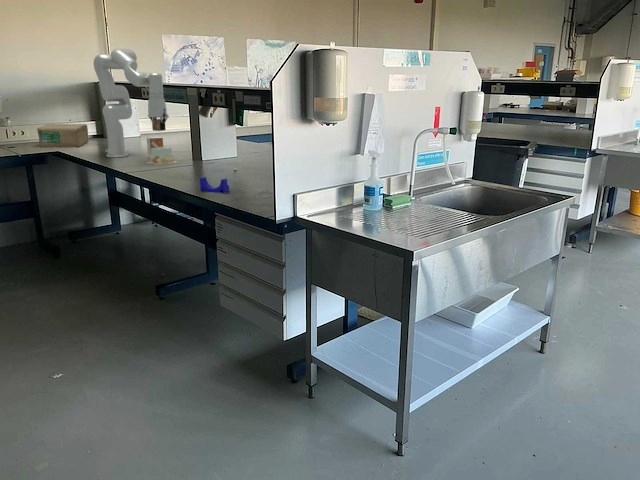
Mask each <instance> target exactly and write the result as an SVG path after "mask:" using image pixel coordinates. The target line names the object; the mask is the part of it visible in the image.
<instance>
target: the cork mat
mask: <svg viewBox="0 0 640 480" xmlns="http://www.w3.org/2000/svg"><path fill="white" fill-rule="evenodd" d="M173 161H174V162H170V163H165V164H159V163H151V161H146V162H145V164H152V165H160V166H164V165H169V164H175V163H179V162H180V161H177V160H173Z"/></svg>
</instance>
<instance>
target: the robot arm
mask: <svg viewBox="0 0 640 480" xmlns="http://www.w3.org/2000/svg"><path fill="white" fill-rule="evenodd" d="M138 66H139V65H138V63H137V54H136V53H135V52H134V51H133V50H132V49H129V48H128V49H127V48H114V49H113V50H112V51H111V52H110V53H99V54H97V55H95V57H94V58H93V69H94V72H95V75H96V76H97V78H98V84H99V88H100V93H101V97H102V99H103V100H104V101H105V102H112V103H108V104H105V105H104V106H103V107H102V114H103V117H104V122H105V129H106V130H105V131H106V139H107V147H108V148H106V149H105V153H107V154H106V157H108V158H125V157H128V156H129V153H127V152H126V148H125V147H126V145H125V137H124V134H125V133H124V127H123V125H122V123H121V122H120V120H128V119H130V118H132V115H133V109H132V104H131V99H130V94H129V91H128V89H127V88H126V87H125V86H124V85H122V84H121V85H118V84H116V83H115V81H114V77H113V75H112V73H111V72H110V71H109V70H123V72H124V77H125V79H126V80H127V82H129V83H130V84H131V85H133V86H134V87H140V88H141V87H145V88H147V87H148V93H149V94H148V96H149V98H148V102H147V103H148V104H147V112H148V114H147V117H148V118H149V119H150V121H151V122H152V120H154V119H158V118H159V119H160V121H161V123H160V128H161V130H163V131H166V130H165V129H166V122H167V119H169V117H170V116H169V114H168V111H167V104H166V100H165V98H164V97H165V95H164V86H163V83H164V82H163V75H162V74H161V73H160V72H159V73H158V72H157V73H156V72H137V69H138ZM113 102H114V103H113ZM115 102H118V103H115ZM162 119H163V120H162Z"/></svg>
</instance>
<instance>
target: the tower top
mask: <svg viewBox="0 0 640 480" xmlns="http://www.w3.org/2000/svg"><path fill="white" fill-rule="evenodd" d="M172 150H173V149H172V147H165V146H163V147H158V148H152V149H151V155H152V156H160V157H164V156H169V155H173V153H172Z"/></svg>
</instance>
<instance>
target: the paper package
mask: <svg viewBox="0 0 640 480" xmlns="http://www.w3.org/2000/svg"><path fill="white" fill-rule="evenodd" d="M36 130H37V134H38V142H39V148H75V147H76V148H77V147H82V146H83V145H86V144H88V143H89V128H88V125H87V124H86V123H68V124H67V123H64V124H63V123H58V124H55V123H54V124H49V123H47V124H44V125H41V126H39V127H37V128H36Z"/></svg>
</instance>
